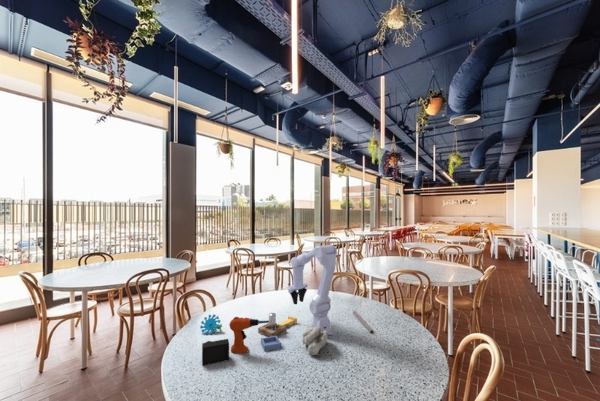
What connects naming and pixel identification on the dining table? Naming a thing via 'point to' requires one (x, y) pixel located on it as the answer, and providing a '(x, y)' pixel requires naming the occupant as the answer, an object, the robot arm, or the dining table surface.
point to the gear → (210, 324)
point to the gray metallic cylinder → (272, 321)
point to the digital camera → (215, 351)
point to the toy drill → (241, 333)
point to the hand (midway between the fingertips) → (298, 302)
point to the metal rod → (363, 322)
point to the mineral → (314, 339)
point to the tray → (270, 343)
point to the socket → (269, 333)
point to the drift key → (289, 321)
